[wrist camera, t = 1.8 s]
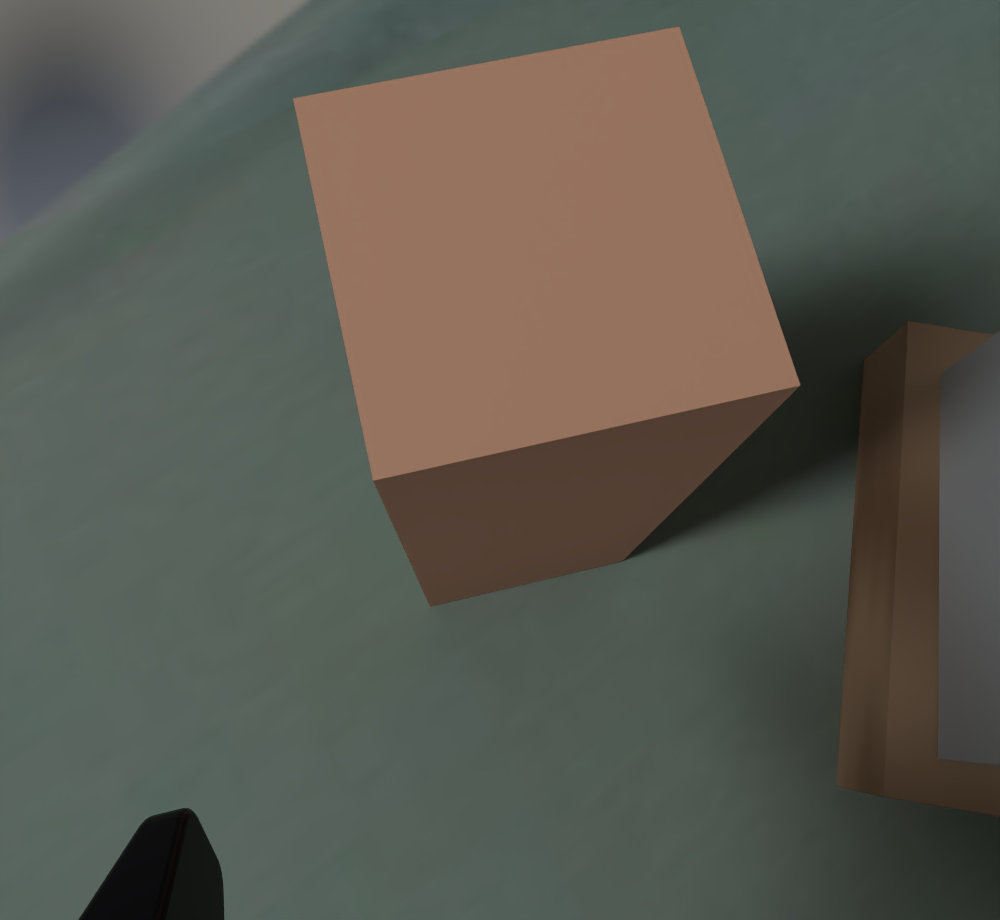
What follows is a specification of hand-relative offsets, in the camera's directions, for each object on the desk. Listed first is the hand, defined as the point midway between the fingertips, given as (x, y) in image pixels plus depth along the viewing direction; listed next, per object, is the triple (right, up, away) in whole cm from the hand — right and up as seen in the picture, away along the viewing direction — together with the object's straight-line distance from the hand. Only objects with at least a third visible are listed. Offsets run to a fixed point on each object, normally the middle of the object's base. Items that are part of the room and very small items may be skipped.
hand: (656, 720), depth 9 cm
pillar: (-1, +2, +12) cm, 13 cm away
